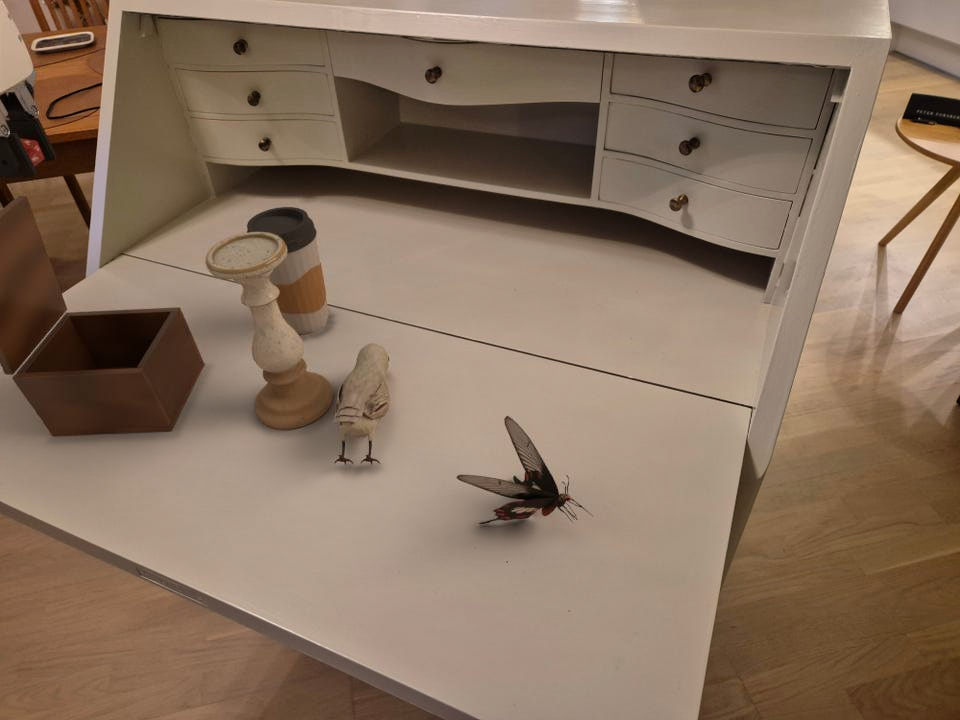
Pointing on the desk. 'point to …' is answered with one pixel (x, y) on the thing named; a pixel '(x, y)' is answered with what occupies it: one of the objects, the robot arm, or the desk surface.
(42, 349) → the keepsake box
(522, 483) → the butterfly
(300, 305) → the coffee cup
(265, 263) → the candle holder
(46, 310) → the lid
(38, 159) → the die
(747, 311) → the desk surface
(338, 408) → the decorative bird
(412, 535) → the desk surface
